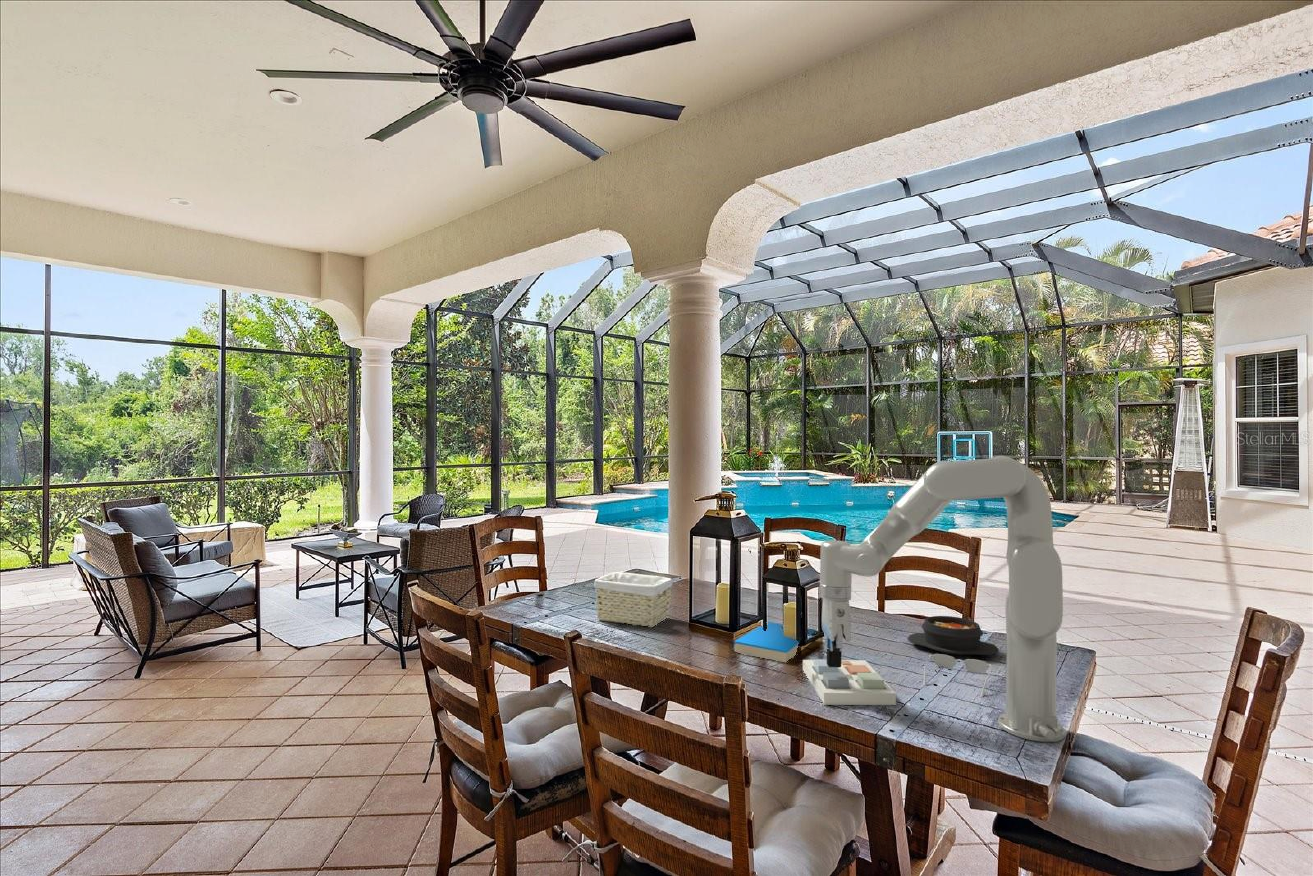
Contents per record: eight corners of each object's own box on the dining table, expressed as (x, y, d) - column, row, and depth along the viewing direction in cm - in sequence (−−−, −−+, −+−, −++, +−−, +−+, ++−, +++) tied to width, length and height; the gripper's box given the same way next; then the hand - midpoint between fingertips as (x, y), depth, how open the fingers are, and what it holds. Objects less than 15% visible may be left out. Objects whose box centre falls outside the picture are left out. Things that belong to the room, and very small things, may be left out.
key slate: (848, 690, 155) (848, 679, 155) (828, 690, 155) (828, 679, 155) (843, 682, 160) (843, 672, 160) (822, 682, 160) (822, 672, 160)
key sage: (884, 690, 155) (884, 680, 155) (863, 690, 155) (863, 680, 155) (877, 682, 160) (877, 672, 160) (857, 682, 160) (857, 672, 160)
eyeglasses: (991, 676, 173) (991, 662, 173) (986, 699, 157) (986, 683, 157) (929, 666, 181) (929, 652, 181) (919, 687, 165) (919, 671, 165)
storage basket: (674, 618, 227) (674, 576, 227) (654, 630, 213) (654, 586, 213) (614, 610, 237) (614, 570, 237) (592, 621, 223) (592, 579, 223)
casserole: (1000, 648, 195) (1000, 621, 195) (996, 666, 179) (996, 636, 179) (913, 635, 208) (913, 609, 208) (902, 651, 192) (902, 623, 192)
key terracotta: (871, 681, 165) (871, 671, 165) (851, 681, 165) (851, 671, 165) (865, 674, 170) (865, 665, 170) (846, 674, 170) (846, 665, 170)
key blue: (838, 675, 165) (838, 666, 165) (818, 675, 165) (818, 666, 165) (832, 669, 170) (832, 659, 170) (813, 668, 170) (814, 659, 170)
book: (816, 629, 202) (787, 650, 181) (816, 643, 202) (787, 665, 181) (765, 621, 211) (732, 639, 190) (765, 634, 211) (732, 654, 190)
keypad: (895, 706, 152) (895, 692, 152) (823, 705, 152) (823, 691, 152) (865, 671, 175) (865, 659, 175) (802, 670, 175) (802, 658, 175)
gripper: (860, 599, 150) (858, 677, 150) (842, 584, 165) (840, 656, 165) (827, 598, 150) (826, 677, 151) (813, 584, 165) (811, 655, 165)
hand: (833, 665), depth 158 cm, fingers closed
